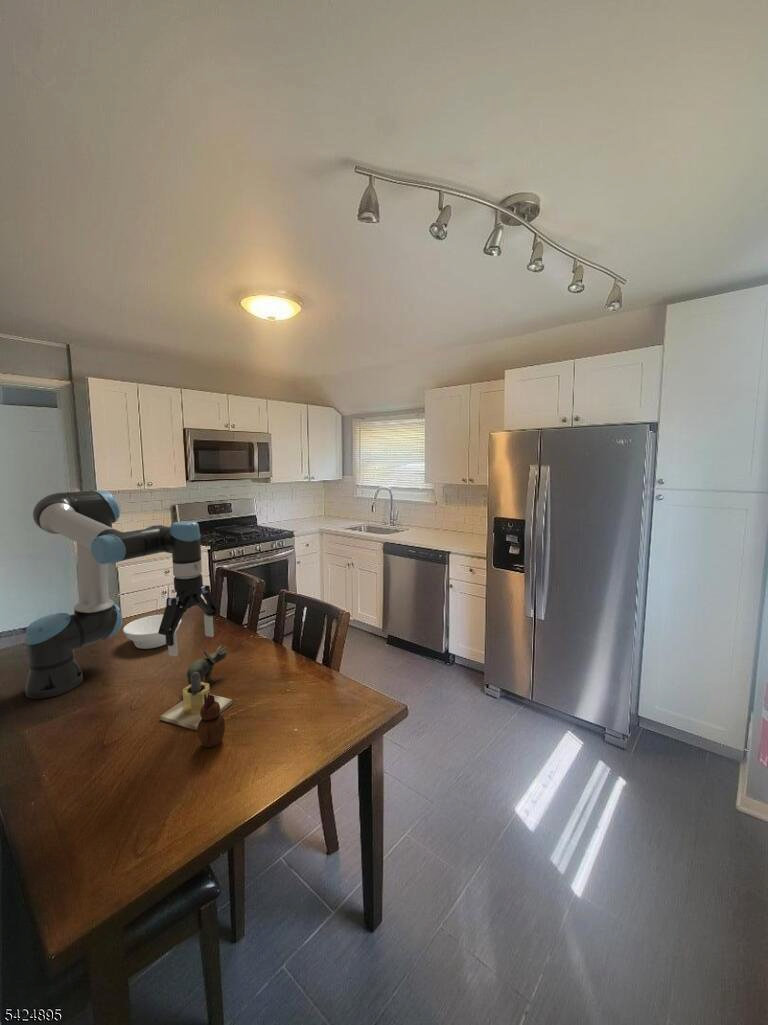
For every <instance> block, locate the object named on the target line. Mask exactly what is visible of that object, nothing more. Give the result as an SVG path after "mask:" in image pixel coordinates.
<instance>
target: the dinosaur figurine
mask: <svg viewBox="0 0 768 1025" xmlns="http://www.w3.org/2000/svg"><path fill="white" fill-rule="evenodd" d="M223 646H224V647H223ZM222 647H223V648H222ZM226 647H227V645H224V643H222V644H221V645H220V646H219V647H218V648H217V649H216V650H215V651H214V652H212V653H208V652H207V651H206V650H203V654H204V655H205V657H202V658H199V659H197V660H195V661H194V662H193V663H191V665H190V666H189V668H188V670H187V674H186V675H187V683H188V686H189V685H190V684H191V674H192V673H193V672H199V674H200V680H201V682H204V680H205V681H206V682H207V683H208V684H209V685H210V684H214V683H215V682H216V680H214V679H212V678H211V674H212V672H213V668H214V666H215V665H216V664H217V663H219V662H221V661H222V660H225V659H227V657H228V653H227V650H225V648H226ZM206 657H207V658H206Z"/></svg>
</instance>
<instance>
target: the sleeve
mask: <svg viewBox="0 0 768 1025" xmlns="http://www.w3.org/2000/svg"><path fill="white" fill-rule="evenodd" d="M210 690H211V689H210V684H209V683H208V682H204V681H203V682H201V692H198V693H194V694H192V690H191V684H190V685H189V684H188V685H186V686H185V687H184V688H183V689H182V701H183V705H184V713H185V714H188V715H196V714H200V711H201V708H202V706H203V705H204V694H206V697H208V693H209V694H211V692H210Z"/></svg>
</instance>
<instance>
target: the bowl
mask: <svg viewBox="0 0 768 1025" xmlns="http://www.w3.org/2000/svg"><path fill="white" fill-rule="evenodd" d="M163 615H164V614H154V615H150V616H144V617H141V618H138V619H135V620H132V621H131V622H129V623H127V624H125V625H124V627H123V629H122V632H123V634H124V635H125V636H126V637H127V639H129V640H130V641H132V642H133V644H134V646H135V647H136V648H137V649H142V650H143V649H144V650H145V649H147V650H148V649H154V648H155V649H156V648H160V647H163V646H165V645H166V636H165V635H162V634H159V633H158V631H159V628H160V625H161V622H162V618H163ZM181 623H182V619H181V620H180V622H179V624H178V626H177V628H176V630H175V632H174V633H176V632H177V631H178V630H179V628H180V625H181ZM170 630H171V628H170Z"/></svg>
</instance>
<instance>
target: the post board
mask: <svg viewBox="0 0 768 1025" xmlns="http://www.w3.org/2000/svg"><path fill="white" fill-rule="evenodd" d="M191 690H192V694H194V693H198V692H201V680H200V674H199V672H193V673H192V674H191ZM213 695H214V699H215V701H216V702H218V703H219V705H220V713H221V714H222V712H224V711H225V710H226V709H227V708H228V707H230V706H231V705H232V704H234V703H233V699H231V698H227V697H224V696H219V695H216V694H213ZM201 719H202V717H201V715H200V714H196V715H188V714H185V713H184V705H183V700H181V701H180V702H179V703H177V704H175V705H174V706H173V707H171V708H170V709H168V710H167V711H165V712H164V713H162V714H161V715H160V721H164V722H167V723H171V724H175V725H177V726H179V727H180V726H181V727H184V728H186V729H191V730H195V731H197V727H198V724H199V722H200V720H201Z"/></svg>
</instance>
